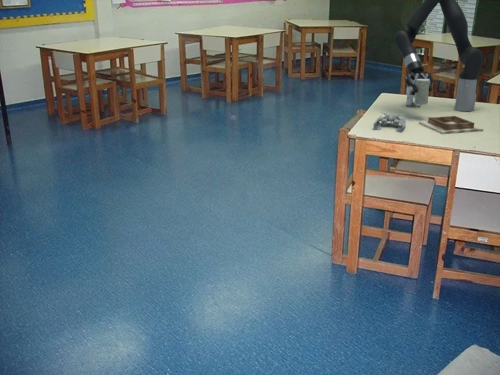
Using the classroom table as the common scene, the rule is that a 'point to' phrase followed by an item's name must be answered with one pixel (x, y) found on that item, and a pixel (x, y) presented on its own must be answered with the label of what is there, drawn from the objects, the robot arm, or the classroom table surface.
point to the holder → (450, 125)
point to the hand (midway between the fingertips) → (423, 91)
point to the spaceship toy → (390, 118)
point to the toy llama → (410, 96)
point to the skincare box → (422, 91)
